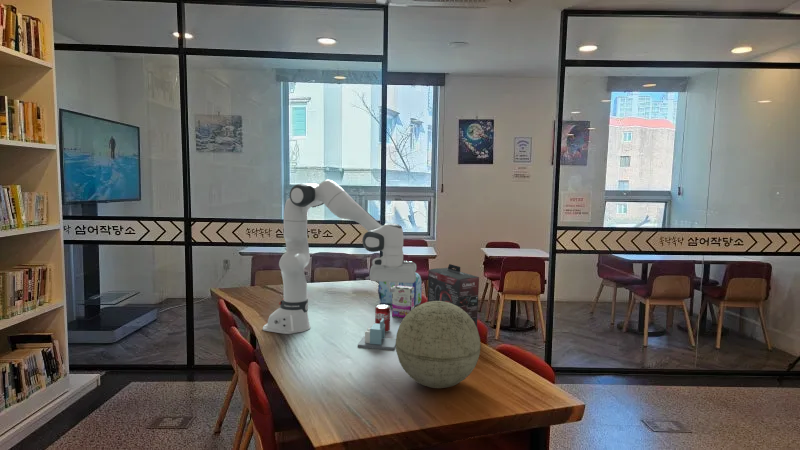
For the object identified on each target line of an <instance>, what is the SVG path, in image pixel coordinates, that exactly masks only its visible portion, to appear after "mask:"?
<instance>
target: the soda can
mask: <svg viewBox="0 0 800 450" xmlns="http://www.w3.org/2000/svg"><path fill="white" fill-rule="evenodd" d="M382 318H383V319H384V324H385V333H389V332H390V331H391V306H390V305H389V304H378V305H376V306H375V309H374V323H377V324H380V321H381V320H382Z"/></svg>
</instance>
